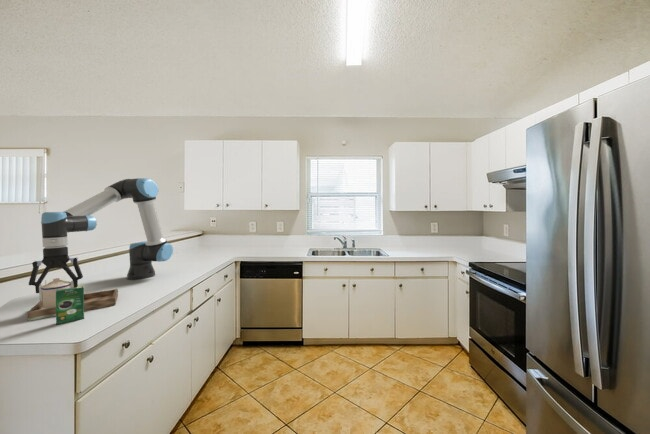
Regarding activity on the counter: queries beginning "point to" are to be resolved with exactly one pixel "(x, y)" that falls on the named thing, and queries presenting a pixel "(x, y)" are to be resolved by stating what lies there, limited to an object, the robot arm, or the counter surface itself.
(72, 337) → the counter surface
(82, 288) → the coffee box
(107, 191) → the robot arm
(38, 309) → the wooden tray
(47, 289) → the teacup with lid
